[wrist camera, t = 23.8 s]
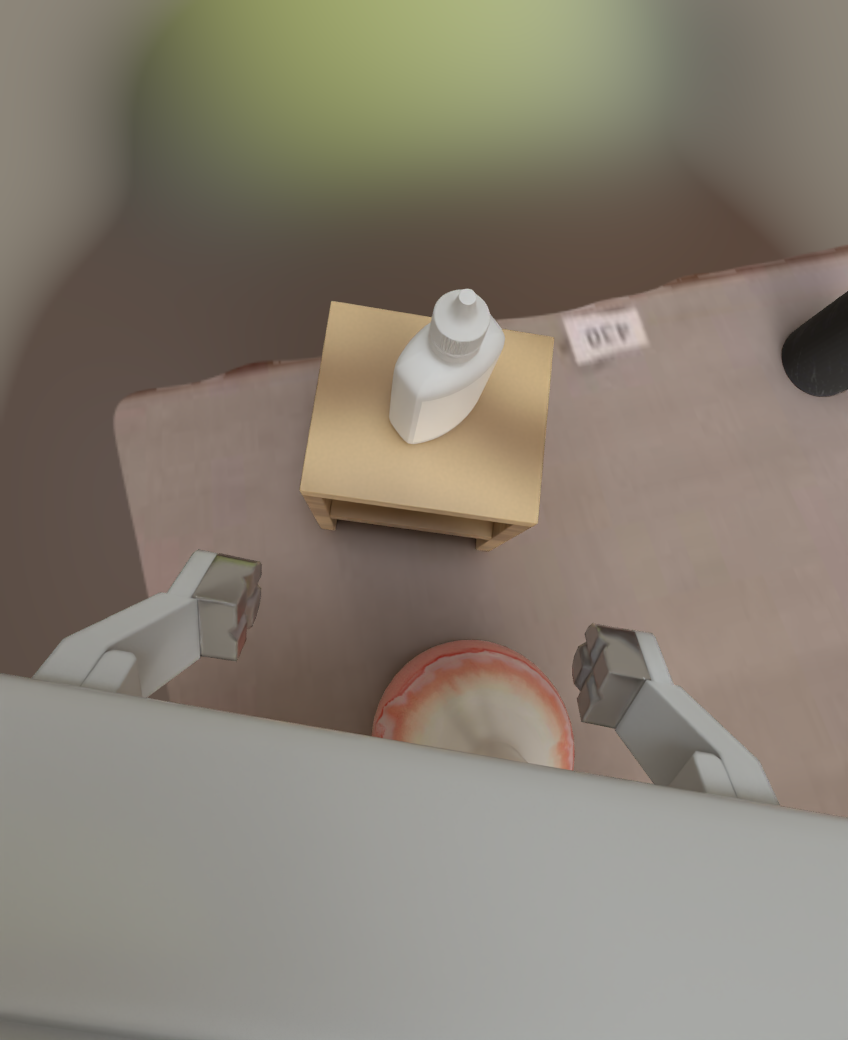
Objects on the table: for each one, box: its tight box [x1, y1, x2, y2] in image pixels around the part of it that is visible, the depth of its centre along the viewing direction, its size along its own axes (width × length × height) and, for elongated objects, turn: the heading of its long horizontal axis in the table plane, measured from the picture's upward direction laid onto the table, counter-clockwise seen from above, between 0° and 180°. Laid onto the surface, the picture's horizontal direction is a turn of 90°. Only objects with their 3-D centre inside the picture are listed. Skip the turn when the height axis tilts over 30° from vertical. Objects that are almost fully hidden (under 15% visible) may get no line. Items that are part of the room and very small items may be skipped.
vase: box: [371, 640, 575, 771], centre depth 36 cm, size 14×14×18 cm
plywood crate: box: [299, 301, 554, 551], centre depth 41 cm, size 12×14×14 cm
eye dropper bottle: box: [389, 289, 505, 444], centre depth 28 cm, size 4×6×12 cm
